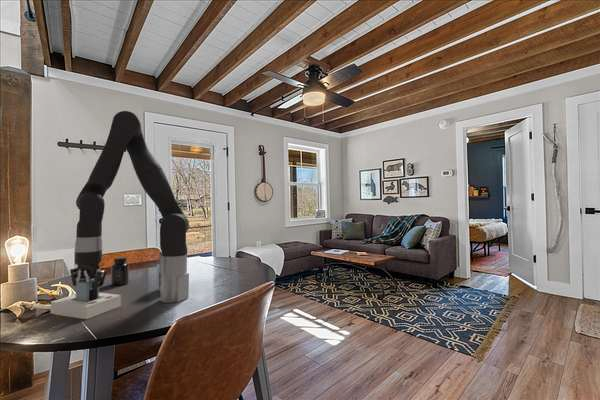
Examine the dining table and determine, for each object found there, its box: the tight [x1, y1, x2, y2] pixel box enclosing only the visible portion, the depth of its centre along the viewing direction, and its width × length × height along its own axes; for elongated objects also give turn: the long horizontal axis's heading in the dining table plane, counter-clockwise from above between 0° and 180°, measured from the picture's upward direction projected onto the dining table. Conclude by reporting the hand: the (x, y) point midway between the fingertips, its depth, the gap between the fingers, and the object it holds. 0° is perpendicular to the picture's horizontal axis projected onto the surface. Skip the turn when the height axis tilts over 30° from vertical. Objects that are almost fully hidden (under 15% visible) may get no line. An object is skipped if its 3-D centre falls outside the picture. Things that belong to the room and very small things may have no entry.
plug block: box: [75, 278, 100, 302], centre depth 95 cm, size 4×4×9 cm
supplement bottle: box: [110, 256, 130, 287], centre depth 127 cm, size 7×7×12 cm
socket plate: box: [50, 292, 122, 320], centre depth 95 cm, size 16×12×4 cm
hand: (87, 298), depth 95 cm, fingers closed on plug block, 4 cm apart
